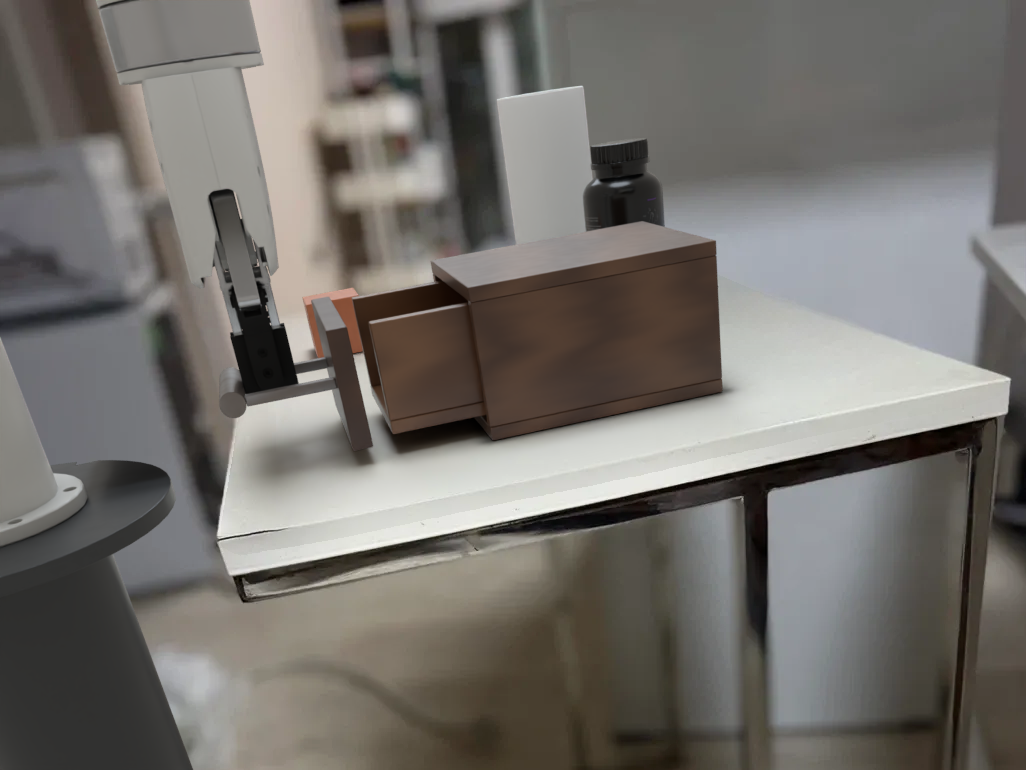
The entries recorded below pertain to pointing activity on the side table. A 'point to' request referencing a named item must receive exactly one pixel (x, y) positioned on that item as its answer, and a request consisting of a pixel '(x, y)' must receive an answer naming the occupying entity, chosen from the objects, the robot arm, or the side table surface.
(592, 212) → the supplement bottle
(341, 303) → the block
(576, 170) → the tall white panel
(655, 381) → the cabinet
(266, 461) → the side table surface
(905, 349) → the side table surface
